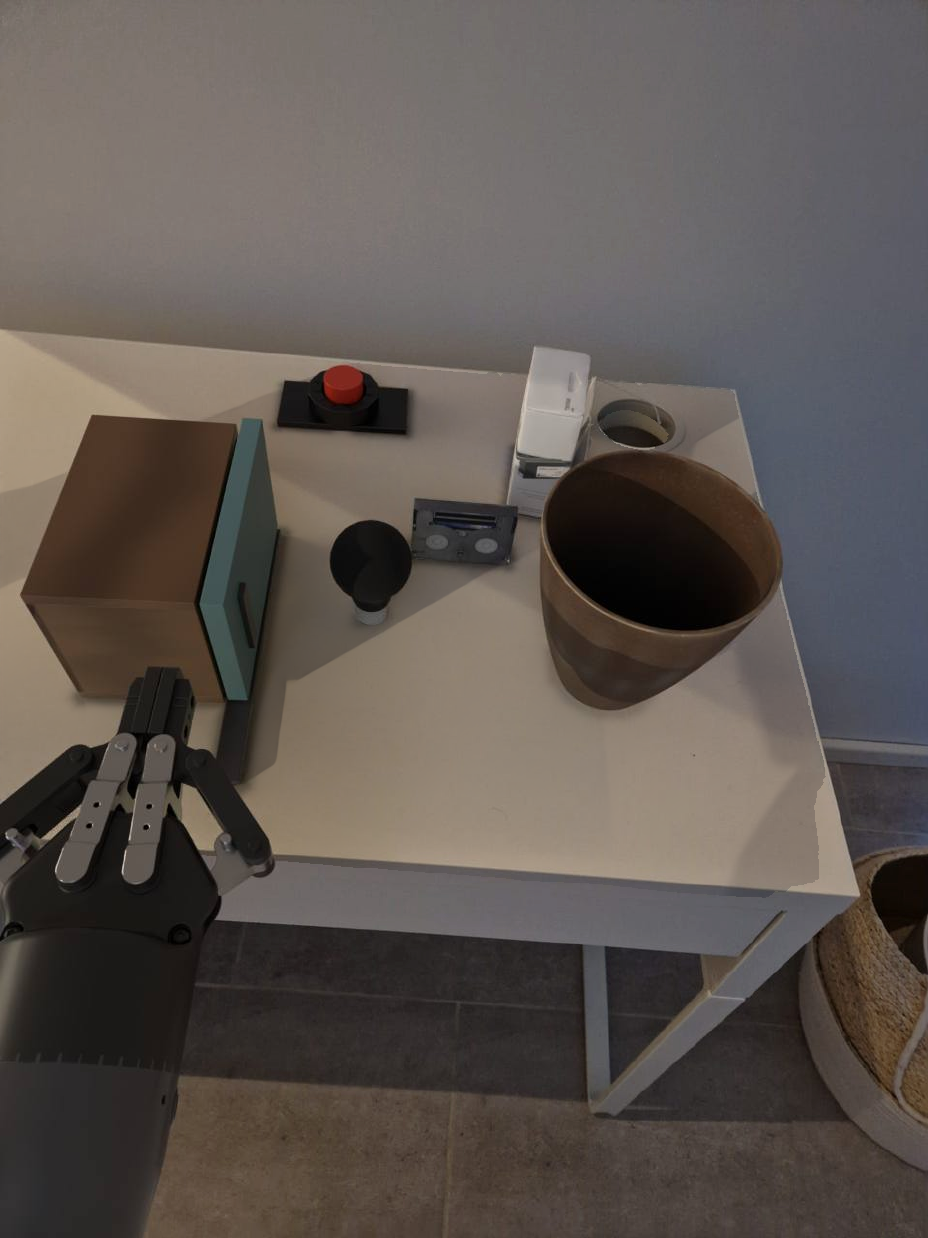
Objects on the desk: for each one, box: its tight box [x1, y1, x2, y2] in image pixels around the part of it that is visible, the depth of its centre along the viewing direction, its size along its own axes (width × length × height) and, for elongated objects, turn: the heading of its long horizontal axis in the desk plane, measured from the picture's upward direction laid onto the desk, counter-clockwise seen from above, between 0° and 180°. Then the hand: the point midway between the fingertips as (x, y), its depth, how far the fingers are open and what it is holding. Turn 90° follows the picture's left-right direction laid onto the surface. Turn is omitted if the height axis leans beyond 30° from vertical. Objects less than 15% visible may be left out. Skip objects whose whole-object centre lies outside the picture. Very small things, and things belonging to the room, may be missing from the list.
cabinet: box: [19, 414, 282, 787], centre depth 55 cm, size 12×23×12 cm, turn 1°
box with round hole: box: [571, 375, 662, 468], centre depth 74 cm, size 14×8×5 cm, turn 170°
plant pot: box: [539, 449, 784, 711], centre depth 55 cm, size 15×15×16 cm
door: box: [200, 417, 279, 700], centre depth 56 cm, size 2×17×11 cm, turn 1°
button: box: [324, 364, 363, 404], centre depth 74 cm, size 4×4×2 cm
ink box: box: [506, 345, 592, 519], centre depth 68 cm, size 8×5×12 cm, turn 172°
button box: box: [276, 369, 409, 436], centre depth 75 cm, size 12×6×2 cm, turn 91°
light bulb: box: [329, 519, 413, 626], centre depth 58 cm, size 6×6×10 cm
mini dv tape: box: [410, 497, 519, 567], centre depth 64 cm, size 8×2×6 cm, turn 89°
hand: (167, 675), depth 39 cm, fingers closed
